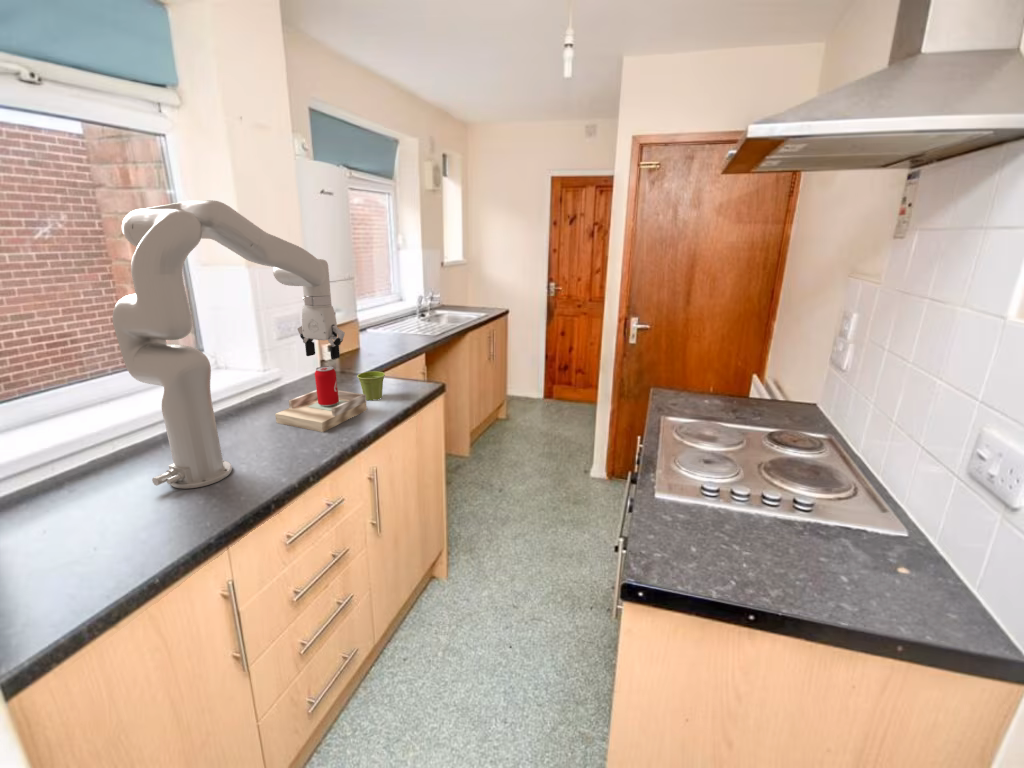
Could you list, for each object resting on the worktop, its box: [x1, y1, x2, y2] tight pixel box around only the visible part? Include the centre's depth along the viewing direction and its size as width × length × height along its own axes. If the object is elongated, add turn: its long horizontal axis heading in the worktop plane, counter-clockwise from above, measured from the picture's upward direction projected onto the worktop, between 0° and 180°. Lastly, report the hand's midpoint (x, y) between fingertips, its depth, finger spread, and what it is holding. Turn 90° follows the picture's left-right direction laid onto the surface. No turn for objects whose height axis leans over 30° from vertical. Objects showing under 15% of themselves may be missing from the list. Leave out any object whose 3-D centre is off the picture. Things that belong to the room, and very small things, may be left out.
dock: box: [274, 389, 368, 433], centre depth 150 cm, size 20×18×6 cm
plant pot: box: [356, 370, 386, 401], centre depth 167 cm, size 9×9×9 cm
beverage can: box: [314, 365, 339, 407], centre depth 150 cm, size 6×6×12 cm
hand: (323, 356), depth 147 cm, fingers open, 9 cm apart
